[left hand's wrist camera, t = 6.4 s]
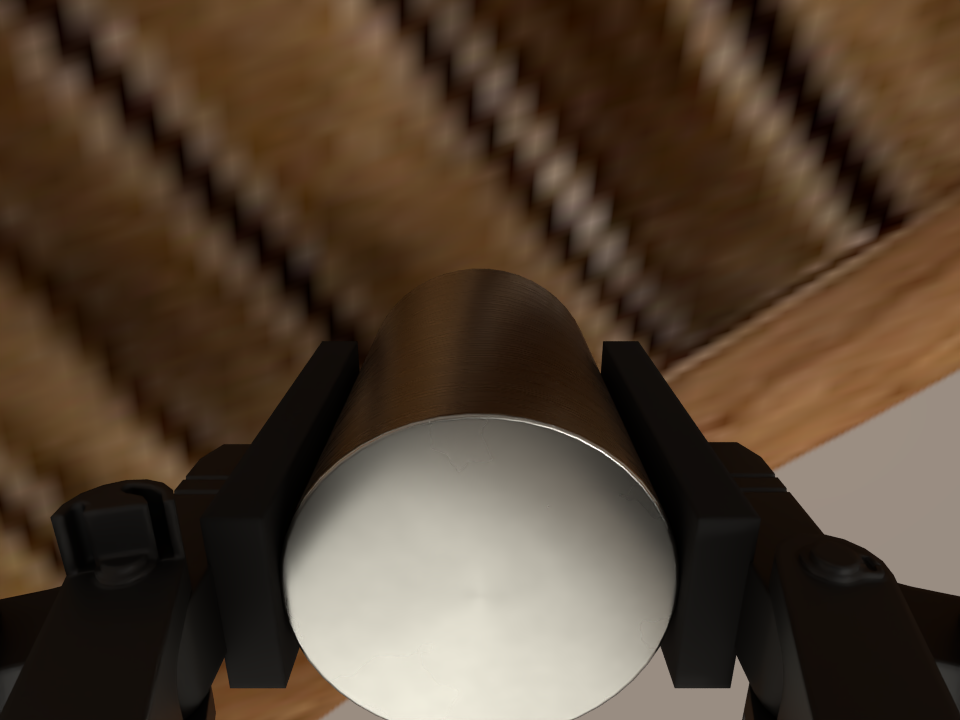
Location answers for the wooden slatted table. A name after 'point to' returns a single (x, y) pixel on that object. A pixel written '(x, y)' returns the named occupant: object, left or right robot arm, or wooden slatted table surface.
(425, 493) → the tin
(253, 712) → the wooden slatted table surface
